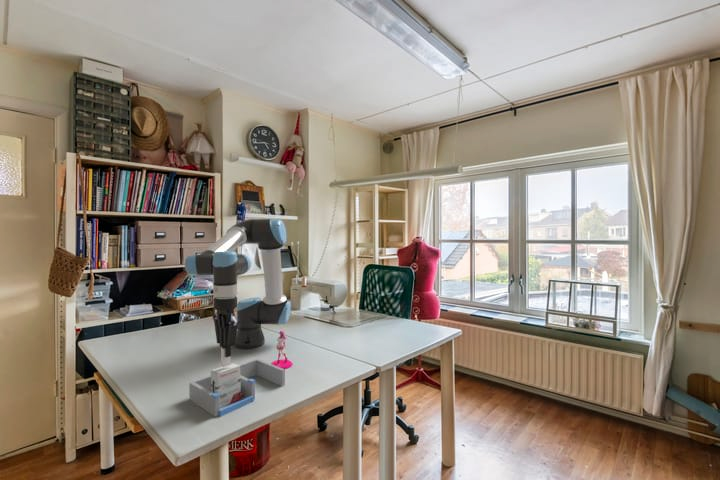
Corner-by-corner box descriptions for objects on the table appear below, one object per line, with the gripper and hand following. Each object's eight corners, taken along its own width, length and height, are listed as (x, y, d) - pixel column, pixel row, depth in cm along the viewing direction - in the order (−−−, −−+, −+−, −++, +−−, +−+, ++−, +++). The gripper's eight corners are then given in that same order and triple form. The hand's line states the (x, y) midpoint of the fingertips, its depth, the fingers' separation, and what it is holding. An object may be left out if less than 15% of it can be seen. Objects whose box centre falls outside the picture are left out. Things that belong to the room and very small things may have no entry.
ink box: (233, 394, 121) (233, 361, 121) (241, 399, 118) (241, 365, 118) (210, 404, 115) (210, 369, 114) (218, 409, 111) (217, 373, 111)
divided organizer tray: (189, 399, 117) (189, 380, 117) (257, 373, 139) (257, 357, 139) (216, 418, 106) (216, 397, 106) (286, 385, 128) (286, 368, 128)
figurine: (268, 362, 150) (268, 329, 149) (290, 359, 154) (290, 326, 153) (271, 371, 141) (271, 335, 140) (294, 367, 145) (294, 332, 144)
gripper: (204, 296, 116) (205, 364, 117) (225, 301, 108) (226, 374, 109) (225, 292, 122) (225, 357, 123) (246, 297, 114) (246, 366, 115)
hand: (226, 365), depth 116 cm, fingers closed
